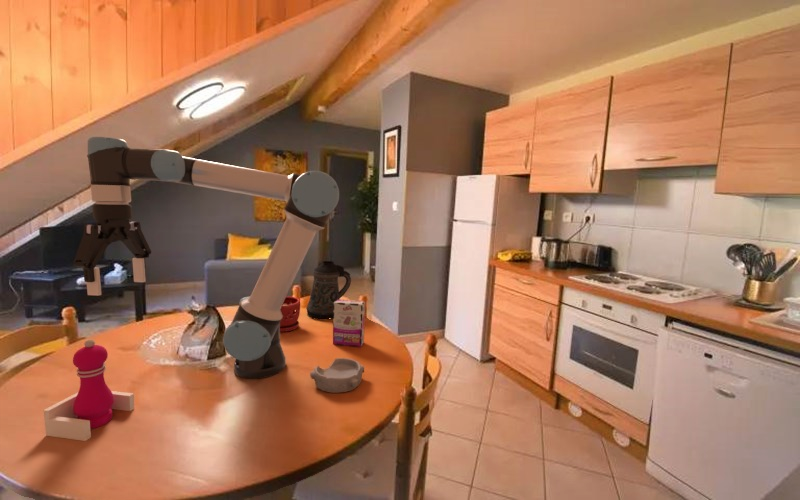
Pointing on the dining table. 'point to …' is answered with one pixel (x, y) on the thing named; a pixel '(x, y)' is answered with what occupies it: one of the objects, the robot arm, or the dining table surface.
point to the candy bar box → (348, 322)
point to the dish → (338, 376)
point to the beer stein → (326, 289)
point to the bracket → (66, 423)
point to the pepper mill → (92, 385)
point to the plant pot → (290, 314)
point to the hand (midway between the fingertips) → (118, 288)
